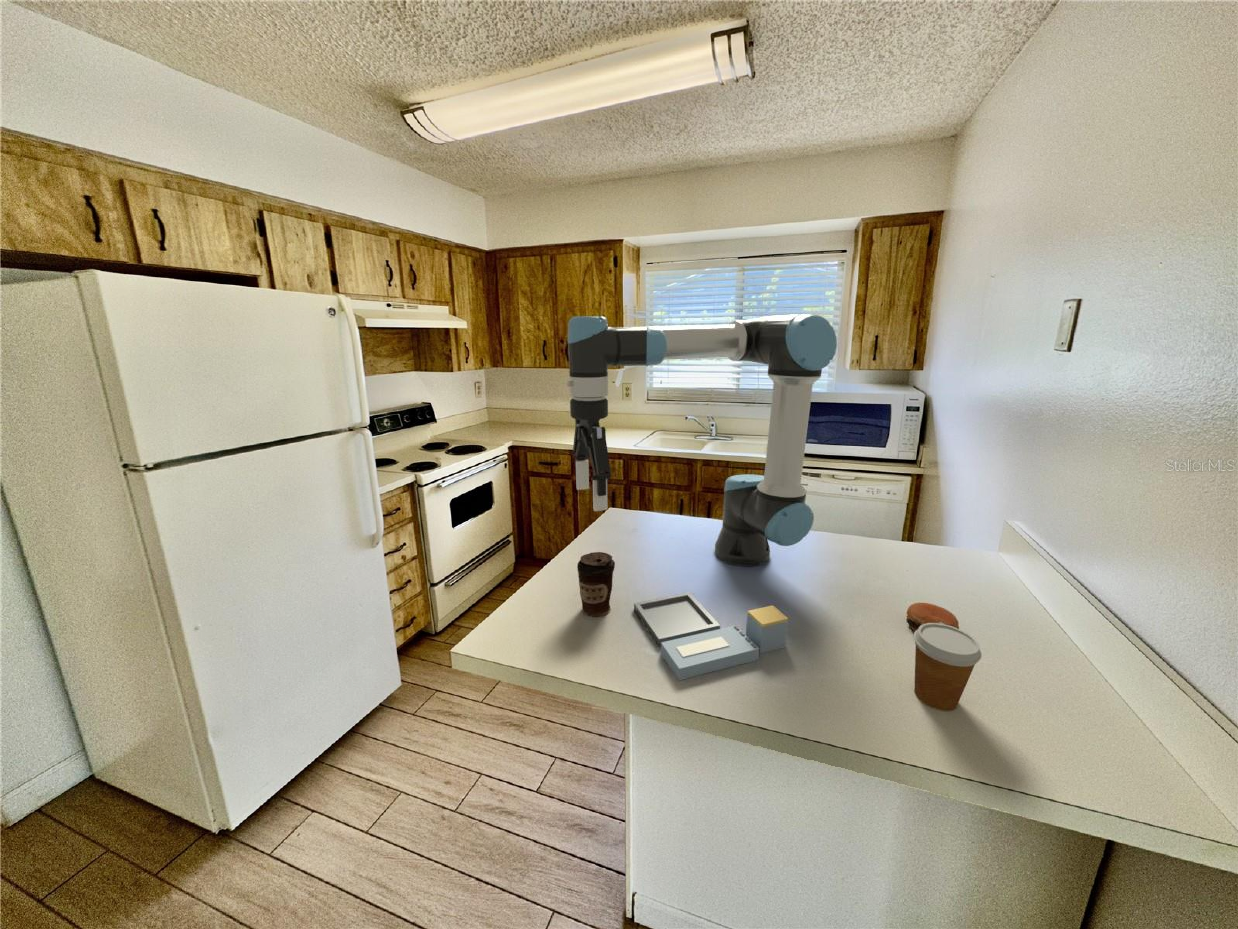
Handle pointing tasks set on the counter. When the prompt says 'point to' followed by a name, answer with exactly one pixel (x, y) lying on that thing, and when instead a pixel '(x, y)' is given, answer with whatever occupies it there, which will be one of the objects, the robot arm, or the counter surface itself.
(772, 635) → the yellow topped blue block
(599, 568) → the coffee cup
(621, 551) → the counter surface
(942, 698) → the disposable coffee cup
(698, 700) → the counter surface
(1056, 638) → the counter surface
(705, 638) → the blue labeled box
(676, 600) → the tray
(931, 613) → the burger
